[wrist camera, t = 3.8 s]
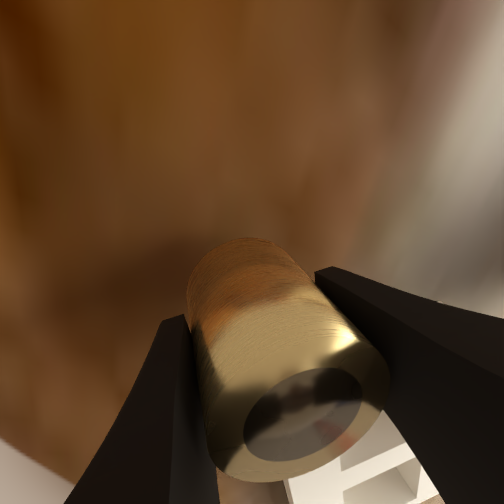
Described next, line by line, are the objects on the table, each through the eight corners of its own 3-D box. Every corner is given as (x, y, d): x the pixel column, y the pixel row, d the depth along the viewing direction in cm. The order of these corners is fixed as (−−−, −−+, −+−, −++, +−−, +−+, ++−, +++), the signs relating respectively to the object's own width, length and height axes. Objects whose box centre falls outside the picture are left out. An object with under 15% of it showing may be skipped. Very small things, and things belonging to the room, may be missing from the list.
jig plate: (439, 300, 18) (487, 331, 15) (419, 449, 25) (449, 488, 23) (254, 369, 16) (273, 418, 13) (290, 509, 23) (307, 559, 21)
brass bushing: (289, 223, 10) (394, 309, 5) (302, 316, 12) (388, 438, 7) (170, 258, 9) (178, 387, 5) (203, 351, 11) (232, 507, 7)
